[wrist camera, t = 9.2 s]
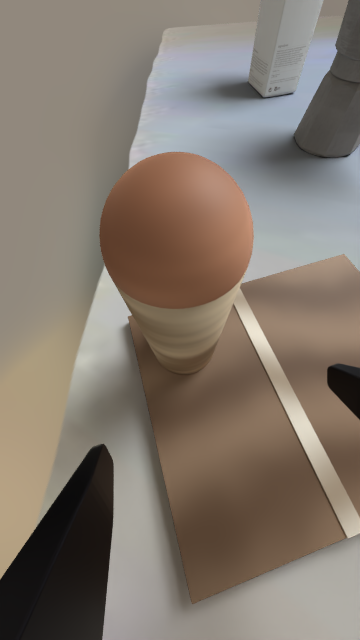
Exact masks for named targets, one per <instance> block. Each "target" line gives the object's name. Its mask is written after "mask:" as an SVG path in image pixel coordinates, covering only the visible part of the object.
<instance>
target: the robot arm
mask: <svg viewBox="0 0 360 640" xmlns="http://www.w3.org/2000/svg"><path fill="white" fill-rule="evenodd" d="M327 384H328V387H329V388H330V390H331V391H332V392H333V393H334V394H335V395H336V396H337V397H338V398H339V399H340V400H341V401H342V402H343V403H344V404H345V405H346V406H347V407H348V408H349V410H350V411H351V412H352V413H353V414H354V415H355V416H356V417H357V418H358V419H359V420H360V368H359V367H354V366H350V365H345V364H340V363H337V364H334V365H331V366H329V367H328V368H327ZM113 486H114V466H113V460H112V457H111V455H110V453H109V451H108V449H107V448H106V446H105V445H104V444H100V445H97V446H94V447H92V448H91V449H90V451H89V452H88V454H87V455H86V457H85V458H84V459H83V461H82V462H81V464H80V465H79V467H78V468H77V470H76V471H75V472H74V474H73V475H72V477H71V478H70V480H69V481H68V483H67V484H66V485H65V487H64V488H63V490H62V491H61V493H60V494H59V495H58V497H57V498H56V500H55V501H54V503H53V504H52V506H51V507H50V508H49V510H48V511H47V513H46V514H45V516H44V517H43V519H42V520H41V521H40V523H39V524H38V526H37V527H36V529H35V530H34V532H33V533H32V534H31V536H30V537H29V539H28V540H27V542H26V543H25V545H24V546H23V547H22V549H21V551H20V552H19V553H18V555H17V556H16V558H15V559H14V561H13V562H12V563H11V565H10V566H9V568H8V569H7V571H6V572H5V573H4V575H3V576H2V578H1V579H0V640H102V636H103V625H104V614H105V604H106V593H107V582H108V571H109V560H110V549H111V538H112V528H113Z"/></svg>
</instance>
